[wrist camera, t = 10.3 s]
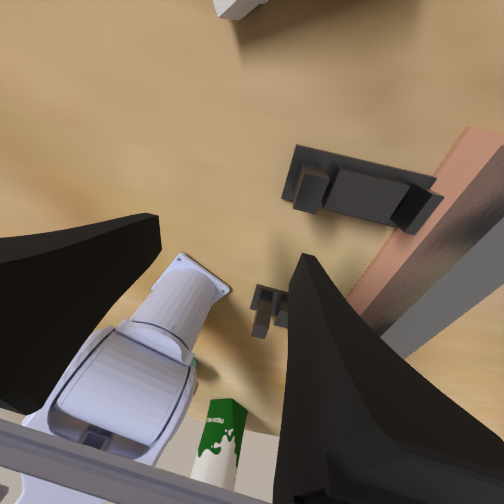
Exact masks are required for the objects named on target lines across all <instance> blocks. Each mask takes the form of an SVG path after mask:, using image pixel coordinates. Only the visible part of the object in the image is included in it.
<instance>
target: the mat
mask: <svg viewBox="0 0 504 504" xmlns="http://www.w3.org/2000/svg"><path fill="white" fill-rule="evenodd" d="M501 145H504V134H500V133H495V132H491V131H486V130H482V129H477V128H473V127H467V128H466V129H465V131H464V132H463V134H462V135H461V137H460V138H459V139H458V141H457V142H456V144H455V145H454V147H453V148H452V149H451V151H450V152H449V154H448V155H447V157H446V158H445V159H444V161H443V162H442V164H441V165H440V166H439V168H438V169H437V171H436V172H435V174H434V175H433V177H436V178H437V180H436V181H435V183H434V184H433V185H432V187H431V188H430V190H432V191H434V192H436V193H438V194H440V195H442V196H444V197H445V198H444V199H443V200H442V202H441V203H440V204H439V206H438V207H437V208H436V209H435V211H434V212H433V213H432V214H431V216H430V217H429V218H428V220H427V221H426V222H425V223H424V225H423V226H422V227H421V228H420V230H419V231H418V232H417V234H416V235H415V236H414V235H410V234H406V233H404V232H403V231H402V230H401V229H400V228H398V227H397V228H396V229H395V231H394V232H393V233H392V235H391V236H390V238H389V239H388V240H387V242H386V243H385V245H384V246H383V248H382V249H381V250H380V252H379V253H378V255H377V256H376V258H375V259H374V260H373V262H372V263H371V265H370V266H369V268H368V269H367V270H366V272H365V273H364V275H363V276H362V277H361V279H360V280H359V282H358V283H357V285H356V286H355V287H354V289H353V290H352V292H351V293H350V295H349V296H348V297H347V299H346V300H347V302H348V303H349V304H350V305H351V307H352V308H353V309H354V310H355V311H356V312H357V314H358V315H359V316H361V314H362V313H363V312H364V311H365V309H366V308H367V307H368V306H369V305H370V303H371V302H372V301H373V300H374V299H375V297H376V296H377V295H378V294H379V293H380V291H381V290H382V289H383V288H384V287H385V285H386V284H387V283H388V282H389V280H390V279H391V278H392V277H393V276H394V274H395V273H396V272H397V271H398V270H399V268H400V267H401V266H402V265H403V264H404V262H405V261H406V260H407V259H408V257H409V256H410V255H411V254H412V253H413V251H414V250H415V249H416V248H417V247H418V245H419V244H420V243H421V242H422V241H423V239H424V238H425V237H426V236H427V235H428V233H429V232H430V231H431V230H432V228H433V227H434V226H435V225H436V224H437V222H438V221H439V220H440V219H441V218H442V216H443V215H444V214H445V213H446V212H447V210H448V209H449V208H450V207H451V206H452V204H453V203H454V202H455V201H456V199H457V198H458V197H459V196H460V195H461V193H462V192H463V191H464V190H465V189H466V187H467V186H468V185H469V184H470V183H471V181H472V180H473V179H474V178H475V177H476V175H477V174H478V173H479V172H480V170H481V169H482V168H483V167H484V166H485V164H486V163H487V162H488V161H489V160H490V158H491V157H492V156H493V155H494V154H495V152H496V151H497V150H498V149H499V148H500V146H501Z"/></svg>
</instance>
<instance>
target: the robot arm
mask: <svg viewBox="0 0 504 504" xmlns="http://www.w3.org/2000/svg"><path fill="white" fill-rule="evenodd" d="M161 250H162V245H161V236H160V226H159V216H157V215H153V214H150V213H141V214H135V215H130V216H126V217H121V218H117V219H112V220H108V221H104V222H99V223H95V224H90V225H85V226H80V227H75V228H70V229H65V230H59V231H53V232H47V233H40V234H33V235H25V236H16V237H5V238H0V408H3V409H6V410H10V411H13V412H16V413H19V414H23V415H27V416H26V417H25V419H24V420H23V421H22V425H18V424H15V423H12V422H9V421H6V420H2V419H0V466H1V467H4V468H7V469H11V470H13V471H16V472H20V473H21V477H22V484H23V491H22V494H21V495H20V497H19V498H18V500H17V501H16V503H15V504H103V503H105V502H107V501H109V502H113V503H116V504H271V503H268V502H265V501H262V500H259V499H255V498H252V497H249V496H246V495H243V494H239V493H236V492H233V491H230V490H227V489H224V488H220V487H217V486H214V485H211V484H208V483H204V482H201V481H198V480H195V479H191V478H188V477H185V476H182V475H178V474H175V473H172V472H169V471H166V470H163V469H159V468H156V467H155V465H156V463H157V461H158V459H159V457H160V455H161V454H162V452H163V450H164V449H165V447H166V445H167V444H168V442H169V441H170V440H171V439H172V437H173V436H174V435H175V433H176V431H177V429H178V428H179V426H180V424H181V423H182V421H183V419H184V417H185V414H186V412H187V410H188V408H189V405H190V403H191V400H192V397H193V394H194V391H195V388H196V383H197V375H196V368H195V366H193V365H191V362H192V360H193V357H194V355H195V354H194V353H192V352H191V351H192V349H193V347H194V344H195V342H196V340H197V338H198V335H199V333H200V331H201V329H202V326H203V324H204V322H205V320H206V317H207V315H208V313H209V311H210V309H211V306H212V305H213V304H214V303H215V302H217V301H218V300H219V299H221V298H222V297H223V296H224V295H226V294H227V293H228V292H229V291H230V287H229V286H227V285H226V284H225V283H223V282H222V281H221V280H219V279H218V278H217V277H215V276H214V275H212V274H211V273H210V272H208V271H207V270H206V269H204V268H203V267H202V266H200V265H199V264H198V263H196V262H195V261H193V260H192V259H191V258H189V257H188V256H187V255H185V254H184V253H179V254H178V255H177V257H176V258H175V259H174V260H173V262H172V263H171V264H170V265H169V267H168V268H167V269H166V270H165V272H164V273H163V274H162V275H161V277H160V278H159V279H158V280H157V282H156V283H155V284H154V285H153V287H152V288H151V289H152V292H151V293H150V295H149V296H148V297H147V298H146V299H145V301H144V302H143V303H142V304H141V305H140V307H139V308H138V309H137V310H136V311H135V313H134V314H133V315H132V316H131V317H130V319H129V320H127V319H124V320H123V321H122V323H121V324H120V325H119V326H118V327H117V328H116V327H114V326H112V325H109V326H107V327H104V328H101V329H98V330H96V331H95V332H94V333H92V332H93V330H94V329H95V328H96V326H97V325H98V324H99V322H100V321H101V320H102V318H103V317H104V316H105V315H106V313H107V312H108V311H109V310H110V308H111V307H112V306H113V305H114V304H115V302H116V301H117V300H118V299H119V298H120V297H121V296H122V295H123V294H124V293H125V292H126V291H127V290H128V289H129V288H130V287H131V286H132V284H133V283H134V282H135V281H136V280H137V279H138V278H139V277H140V276H141V275H142V274H143V273H144V272H145V271H146V270H147V269H148V268H149V267H150V266H151V264H152V263H153V262H154V260H155V259H156V258H157V256H158V255H159V253H160V252H161ZM179 258H180V259H181V260H180V259H179ZM223 290H224V291H223ZM287 315H288V359H287V372H286V383H285V394H284V404H283V413H282V422H281V431H280V439H279V447H278V455H277V463H276V470H275V477H274V485H273V503H272V504H504V442H503V440H502V439H501V438H500V437H499V436H498V435H496V434H495V433H494V432H492V431H491V430H490V429H489V428H487V427H486V426H485V425H483V424H482V423H481V422H480V421H478V420H477V419H476V418H474V417H473V416H472V415H470V414H469V413H468V412H467V411H465V410H464V409H463V408H461V407H460V406H459V405H458V404H456V403H455V402H454V401H452V400H451V399H450V398H449V397H447V396H446V395H445V394H443V393H442V392H441V391H440V390H439V389H437V388H436V387H435V386H434V385H433V384H431V383H430V382H429V381H428V380H427V379H426V378H424V377H423V376H422V375H421V374H420V373H418V372H417V371H416V370H415V369H414V368H413V367H411V366H410V365H409V364H408V363H407V362H406V361H405V360H404V359H402V358H401V357H400V356H399V355H398V354H397V353H396V352H395V351H394V350H393V349H392V348H391V347H390V346H389V345H387V344H386V343H385V342H384V341H383V340H382V339H381V338H380V337H379V336H378V335H377V334H376V333H375V332H374V331H373V330H372V329H371V328H370V327H369V325H368V324H367V323H366V322H365V321H364V320H363V319H362V318H361V317H360V316H359V315H358V314H357V312H356V311H355V310H354V309H353V308H352V307H351V305H350V304H349V303H348V302H347V300H346V299H345V298H344V297H343V295H342V294H341V293H340V291H339V290H338V289H337V287H336V286H335V285H334V283H333V282H332V280H331V279H330V278H329V276H328V275H327V273H326V272H325V270H324V269H323V267H322V266H321V264H320V263H319V261H318V260H317V258H316V257H315V256H313V255H309V254H305V253H302V254H301V257H300V259H299V261H298V264H297V266H296V269H295V271H294V273H293V276H292V278H291V281H290V283H289V291H288V300H287ZM91 333H92V334H91ZM90 334H91V335H90ZM8 490H9V487H7V486H5V485H2V484H0V502H1V501H2V500H3V498H4V497H5V496H6V495H7V493H8Z"/></svg>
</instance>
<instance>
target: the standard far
mask: <svg viewBox="0 0 504 504" xmlns="http://www.w3.org/2000/svg"><path fill="white" fill-rule="evenodd" d="M287 300H288V292H284V291H281V290H277V289H273V288H269V287H266V286H262V285H258V284H257V286H256V289H255V293H254V296H253V300H252V303H251V307H250V309H252V310H256V314H255V319H254V324H253V329H252V334H251V336H254V337H257V338H261V339H265V337H266V334H267V332H268V329H269V325H270V317H271V315H274V316H275V319H274V325H276V326H280V327H284V328H287V329H288V315H287Z"/></svg>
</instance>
